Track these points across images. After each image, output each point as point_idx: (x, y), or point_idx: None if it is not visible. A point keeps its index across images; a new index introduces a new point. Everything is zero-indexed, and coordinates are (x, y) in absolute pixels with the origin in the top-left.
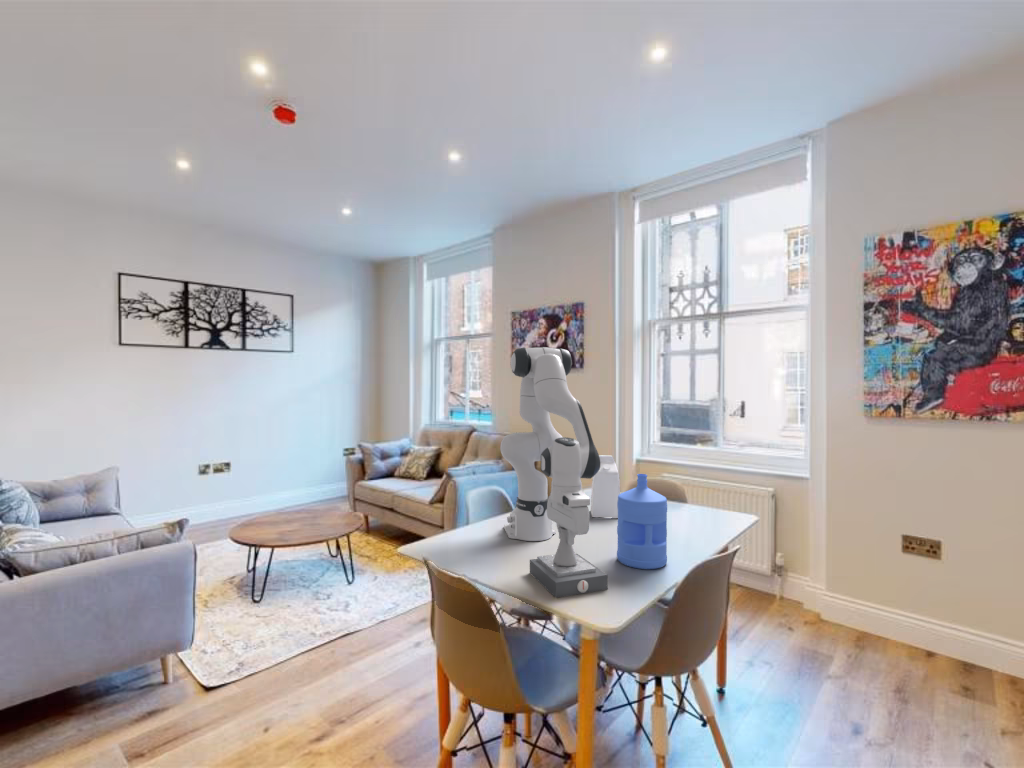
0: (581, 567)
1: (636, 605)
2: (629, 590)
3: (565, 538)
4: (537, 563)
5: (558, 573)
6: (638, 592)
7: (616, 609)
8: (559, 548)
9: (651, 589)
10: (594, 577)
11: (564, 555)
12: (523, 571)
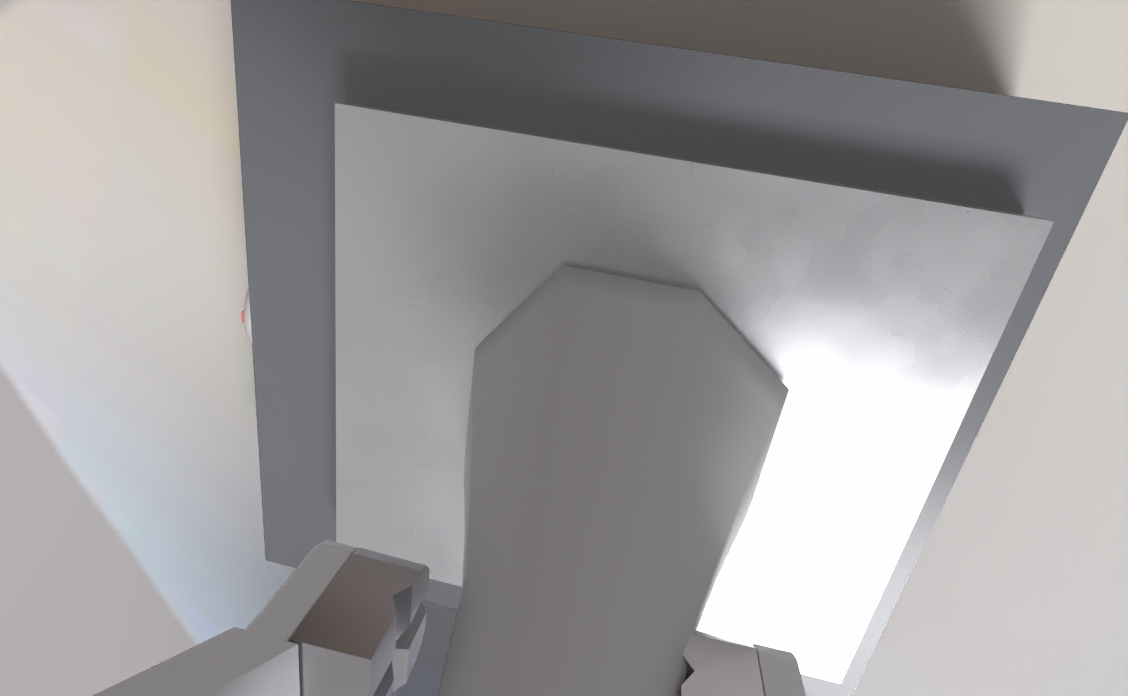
0: (403, 463)
1: (85, 461)
2: (275, 577)
3: (455, 650)
4: (903, 134)
5: (340, 119)
6: (236, 594)
7: (54, 323)
8: (593, 432)
9: None
10: (262, 444)
11: (498, 403)
12: (1119, 69)
